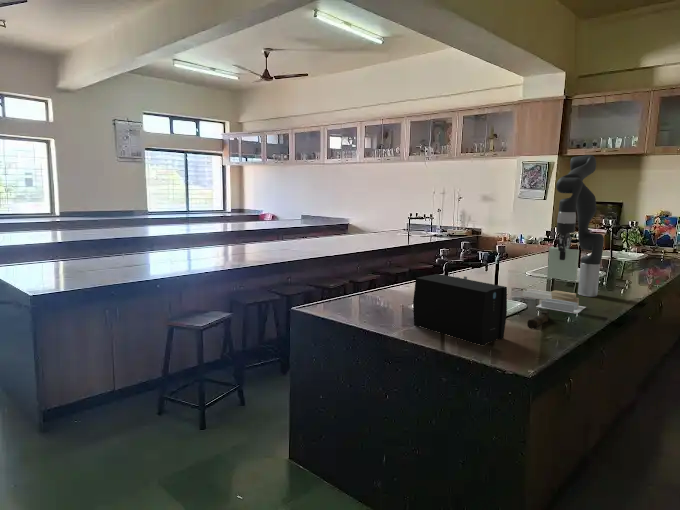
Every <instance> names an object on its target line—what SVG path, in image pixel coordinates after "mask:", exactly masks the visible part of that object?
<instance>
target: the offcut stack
mask: <svg viewBox="0 0 680 510" xmlns="http://www.w3.org/2000/svg"><path fill="white" fill-rule="evenodd" d="M550 292H551V296H552V299H556V300H563V301H569V302H575V303H578V306H580V305H579V304H580V302H579V301H580V298H579V297H577V293H573V292H568V291H567V292H566V291H561V290H556V289H555V290H552V291H550Z"/></svg>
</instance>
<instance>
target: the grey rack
mask: <svg viewBox="0 0 680 510" xmlns="http://www.w3.org/2000/svg"><path fill="white" fill-rule="evenodd" d="M535 307H536V308H541V309H545V310H547V309H548V310H553V311H560V312H564V313H571V314H575V315H576V314H579V313H581V312H582V311H583V310H584V309H586V308H587V306H582V305H579V306H578V303H575V302H569V301H563V300H556V299H550V298H546V300H541V303H540V304H538V305H536V306H535Z"/></svg>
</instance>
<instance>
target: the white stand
mask: <svg viewBox="0 0 680 510" xmlns="http://www.w3.org/2000/svg"><path fill="white" fill-rule="evenodd" d="M551 292H552V291H547V290H539V289H532V288H527V289H526V290H522V297H524V298H528V299H529V298H530V299H535V300H541V301H542V300H545V301H546V298H550V299H552V296H551Z"/></svg>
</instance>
